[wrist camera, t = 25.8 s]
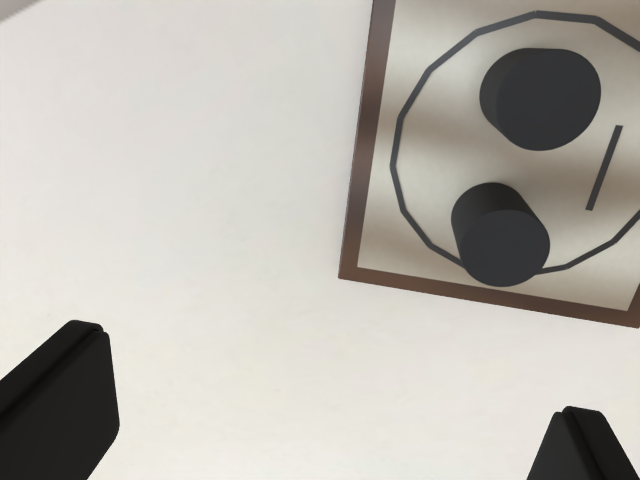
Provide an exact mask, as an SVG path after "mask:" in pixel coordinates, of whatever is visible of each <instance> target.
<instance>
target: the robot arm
mask: <svg viewBox="0 0 640 480" xmlns="http://www.w3.org/2000/svg"><path fill="white" fill-rule="evenodd" d="M119 426H120V422H119V413H118V405H117V397H116V388H115V380H114V372H113V364H112V355H111V347H110V339H109V335H108V334H107V333H106V332H104V331H103V328H102V326H101V325H99V324H96V323H90V322H84V321H79V320H71V321H69V322H68V323H66V324H65V325H64V326H63V327H62V328H60V329H59V330H58V331H57V332H56V333H55V334H53V335H52V336H51V337H50V338H49V339H48V340H47V341H45V342H44V343H43V344H42V345H41V346H40V347H38V348H37V349H36V350H35V351H34V352H33V353H31V354H30V355H29V356H28V357H27V358H26V359H24V360H23V361H22V362H21V363H20V364H19V365H18V366H16V367H15V368H14V369H13V370H12V371H11V372H9V373H8V374H7V375H6V376H5V377H4V378H2V379H1V380H0V480H87V479H88V478H89V476H90V475H91V473H92V472H93V470H94V469H95V468H96V466H97V465H98V463H99V462H100V460H101V459H102V458H103V456H104V455H105V453H106V452H107V450H108V449H109V448H110V446H111V445H112V443H113V442H114V440H115V439H116V436H117V434H118V431H119ZM527 480H640V479H639V477H638V475H637V473H636V471H635V470H634V468H633V466H632V464H631V463H630V461H629V459H628V457H627V455H626V454H625V452H624V450H623V448H622V446H621V445H620V443H619V441H618V439H617V438H616V436H615V434H614V432H613V430H612V429H611V427H610V425H609V423H608V422H607V420H606V418H605V417H604V415H603V414H602V413H601V412H599V411H595V410H589V409H584V408H578V407H572V406H567V407H565V408H564V409H563V411H562V412H555V413H554V415H553V416H552V419H551V421H550V424H549V426H548V429H547V431H546V434H545V436H544V438H543V441H542V443H541V446H540V448H539V451H538V453H537V456H536V458H535V460H534V463H533V465H532V468H531V470H530V473H529V475H528V477H527Z"/></svg>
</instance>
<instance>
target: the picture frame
mask: <svg viewBox="0 0 640 480" xmlns="http://www.w3.org/2000/svg"><path fill="white" fill-rule="evenodd" d="M521 48H549V49H565V50H570V51H573V52H576V53H578V54H580V55H582V56H583V57H585V58H586V59H587V60H588V61H589V62H590V63H591V64H592V65H593V67H594V68H595V69H596V71H597V73H598V76H599V79H600V83H601V100H600V104H599V108H598V111H597V113H596V115H595V117H594V119H593V121H592V122H591V124H590V125H589V126H588V128H587V129H586V130H585V131H584V132H583V133H582V134H581V135H580V136H578V137H577V138H576V139H574V140H573V141H572V142H570V143H568V144H566V145H564V146H562V147H559V148H556V149H553V150H547V151H531V150H526V149H523V148H520V147H518V146H516V145H514V144H513V143H512V142H510V141H509V140H508V139H507V138H506V137H505V136H504V135H503V134H501V133H500V132H499V131H498V130H497V129H496V128H495V127H494V126H493V125H492V124H491V123H490V122H489V121H488V120H487V119H486V118H485V116H484V114H483V112H482V110H481V106H480V101H479V92H480V87H481V83H482V81H483V78H484V76H485V74H486V73H487V71H488V70H489V68H490V67H491V66H492V65H493V64H494V63H495V62H496V61H497V60H498V59H499V58H501V57H502V56H504V55H505V54H507V53H509V52H511V51H514V50H517V49H521ZM489 182H495V183H501V184H505V185H508V186H510V187H512V188H513V189H515V190H516V191H517V192H518V193H519V194H520V195H521V196H522V198H523V199H524V200H525V202H526V203H527V204H528V205H529V207H530V208H531V209H532V211H533V212H534V213H535V215H536V216H537V217H538V218H539V220H540V221H541V222H542V224H543V225H544V226H545V228H546V230H547V232H548V234H549V238H550V252H549V256H548V258H547V261H546V263H545V264H544V266H543V267H542V269H541V270H540V271H539V272H538V273H537V274H536V275H535V276H533V277H532V278H531V279H529V280H527V281H525V282H523V283H521V284H518V285H515V286H510V287H493V286H488V285H485V284H483V283H481V282H478V281H477V280H475V279H474V278H472V277H471V276H470V275H469V274H468V273H467V272H466V270H465V269H464V267H463V265H462V263H461V260H460V256H459V252H458V248H457V244H456V241H455V237H454V233H453V229H452V225H451V213H452V209H453V207H454V204H455V203H456V201H457V199H458V198H459V197H460V196H461V195H462V194H463V193H464V192H465V191H467V190H468V189H470V188H472V187H474V186H476V185H479V184H482V183H489ZM338 278H339V279H344V280H350V281H356V282H362V283H368V284H374V285H380V286H386V287H392V288H398V289H404V290H410V291H416V292H422V293H428V294H434V295H440V296H446V297H452V298H458V299H464V300H470V301H476V302H482V303H488V304H494V305H500V306H506V307H512V308H518V309H524V310H530V311H536V312H542V313H548V314H554V315H560V316H566V317H572V318H578V319H584V320H590V321H596V322H602V323H608V324H614V325H620V326H626V327H632V328H639V327H640V0H373V5H372V13H371V20H370V28H369V36H368V44H367V52H366V60H365V68H364V75H363V83H362V91H361V99H360V107H359V115H358V123H357V131H356V138H355V146H354V154H353V162H352V170H351V178H350V186H349V193H348V201H347V209H346V217H345V225H344V233H343V241H342V248H341V256H340V264H339V272H338Z"/></svg>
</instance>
